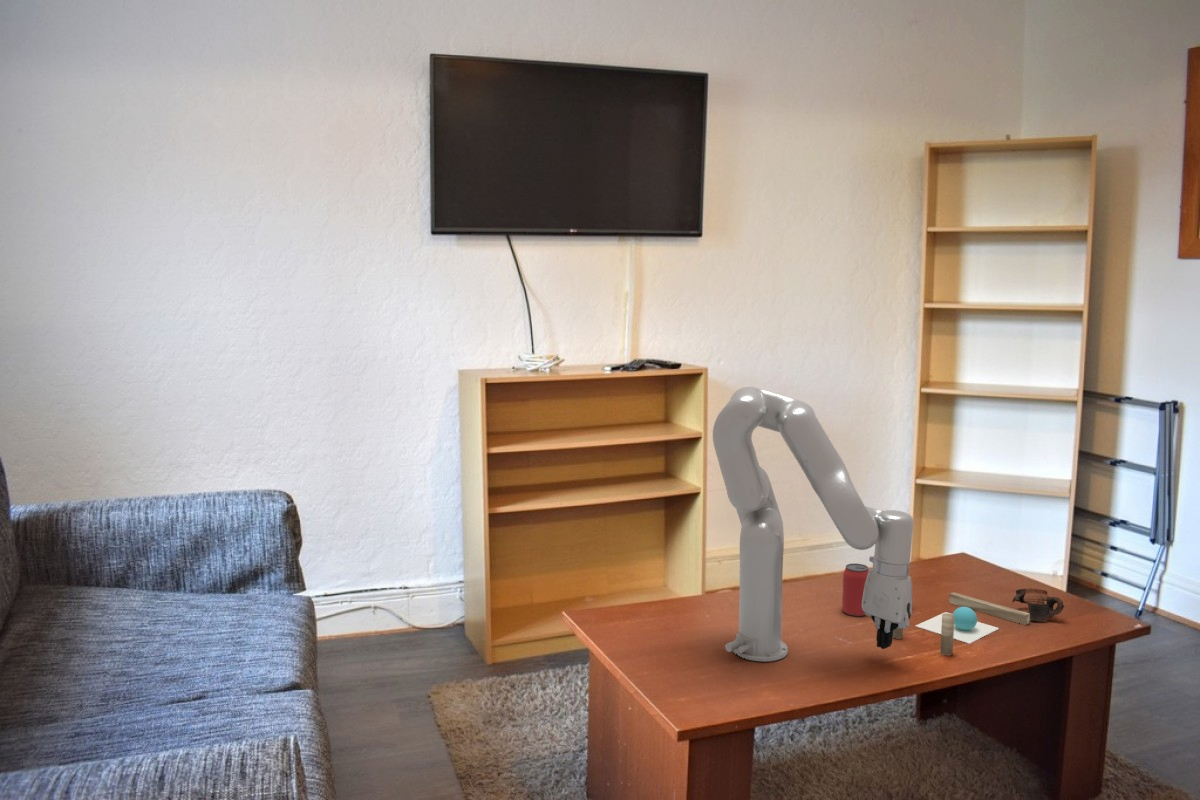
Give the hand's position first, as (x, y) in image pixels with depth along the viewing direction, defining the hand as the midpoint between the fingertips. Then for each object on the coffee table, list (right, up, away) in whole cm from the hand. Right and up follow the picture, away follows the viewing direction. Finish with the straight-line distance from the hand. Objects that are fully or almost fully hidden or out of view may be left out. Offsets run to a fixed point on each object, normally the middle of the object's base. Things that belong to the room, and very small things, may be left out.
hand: (883, 646), depth 204 cm
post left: (+7, -1, +13) cm, 15 cm away
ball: (+25, +2, +17) cm, 30 cm away
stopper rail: (+35, +1, +28) cm, 45 cm away
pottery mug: (+46, 0, +25) cm, 53 cm away
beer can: (+2, +1, +29) cm, 29 cm away
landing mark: (+24, 0, +19) cm, 30 cm away
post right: (+15, -3, +4) cm, 16 cm away
